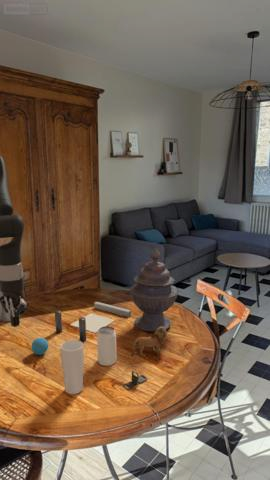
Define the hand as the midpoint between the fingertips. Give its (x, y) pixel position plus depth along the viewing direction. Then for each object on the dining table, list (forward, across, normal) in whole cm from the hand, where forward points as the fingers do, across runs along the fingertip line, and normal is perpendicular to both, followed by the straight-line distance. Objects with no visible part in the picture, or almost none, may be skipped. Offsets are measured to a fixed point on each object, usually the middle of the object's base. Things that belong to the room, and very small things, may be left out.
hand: (15, 325), depth 116 cm
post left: (+15, -7, +26) cm, 30 cm away
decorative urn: (+15, +24, +52) cm, 59 cm away
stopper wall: (+15, 0, +54) cm, 56 cm away
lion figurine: (+15, +33, +32) cm, 49 cm away
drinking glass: (+15, +25, +1) cm, 29 cm away
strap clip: (+16, +39, +14) cm, 44 cm away
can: (+15, +24, +19) cm, 34 cm away
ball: (+12, 0, +10) cm, 15 cm away
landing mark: (+15, 0, +40) cm, 42 cm away
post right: (+15, +6, +26) cm, 30 cm away
